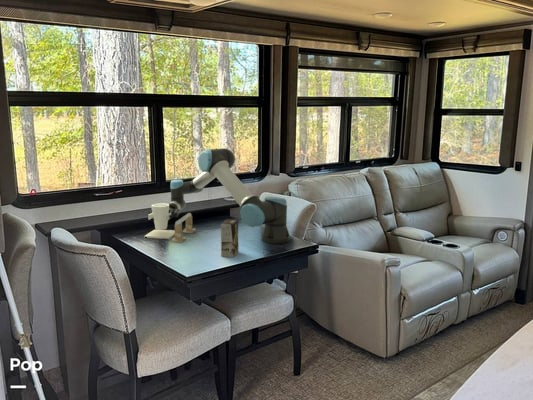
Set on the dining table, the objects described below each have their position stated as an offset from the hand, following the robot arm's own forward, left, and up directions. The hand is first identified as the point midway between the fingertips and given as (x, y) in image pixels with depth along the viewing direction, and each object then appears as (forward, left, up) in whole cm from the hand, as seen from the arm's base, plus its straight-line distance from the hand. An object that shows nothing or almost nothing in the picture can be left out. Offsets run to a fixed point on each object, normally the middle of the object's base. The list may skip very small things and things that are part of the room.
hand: (157, 217), depth 247 cm
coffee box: (-43, -28, -11) cm, 52 cm away
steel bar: (-3, -14, -2) cm, 14 cm away
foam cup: (+4, -2, -7) cm, 9 cm away
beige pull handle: (-3, -14, -11) cm, 18 cm away
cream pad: (+4, -2, -11) cm, 12 cm away
